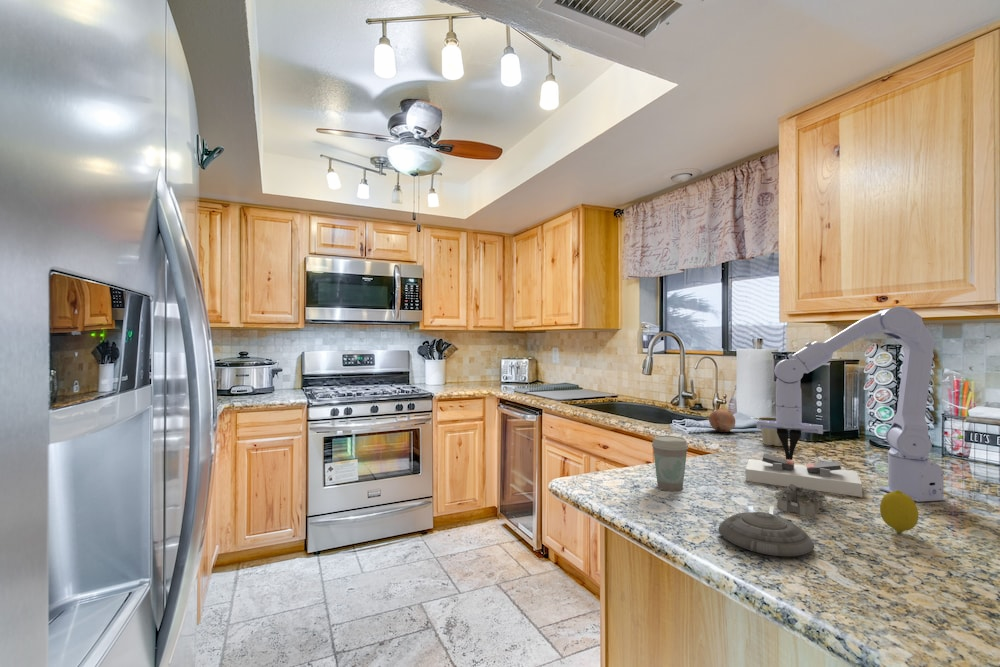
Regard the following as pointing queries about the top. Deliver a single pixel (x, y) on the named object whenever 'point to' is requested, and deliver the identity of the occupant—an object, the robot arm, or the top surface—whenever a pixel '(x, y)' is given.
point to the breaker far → (778, 461)
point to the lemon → (899, 511)
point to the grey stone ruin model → (799, 500)
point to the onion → (722, 420)
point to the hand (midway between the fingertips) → (789, 458)
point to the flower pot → (770, 434)
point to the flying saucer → (766, 534)
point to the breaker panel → (805, 477)
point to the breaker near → (823, 466)
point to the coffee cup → (670, 461)
